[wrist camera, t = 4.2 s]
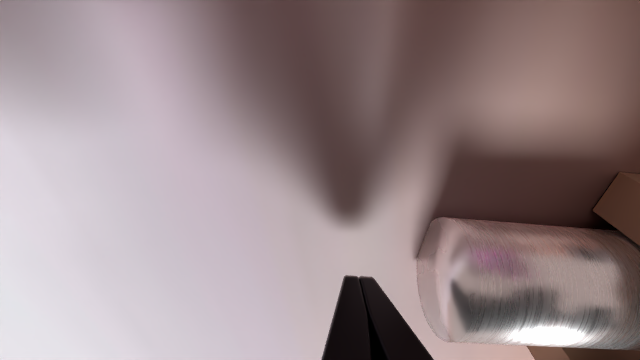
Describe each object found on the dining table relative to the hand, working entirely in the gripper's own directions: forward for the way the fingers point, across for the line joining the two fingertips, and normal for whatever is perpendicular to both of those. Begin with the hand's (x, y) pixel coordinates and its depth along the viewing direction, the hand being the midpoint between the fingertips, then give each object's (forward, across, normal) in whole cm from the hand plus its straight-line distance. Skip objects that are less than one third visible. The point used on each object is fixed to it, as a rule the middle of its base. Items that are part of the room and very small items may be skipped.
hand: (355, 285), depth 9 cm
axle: (+2, -7, 0) cm, 7 cm away
